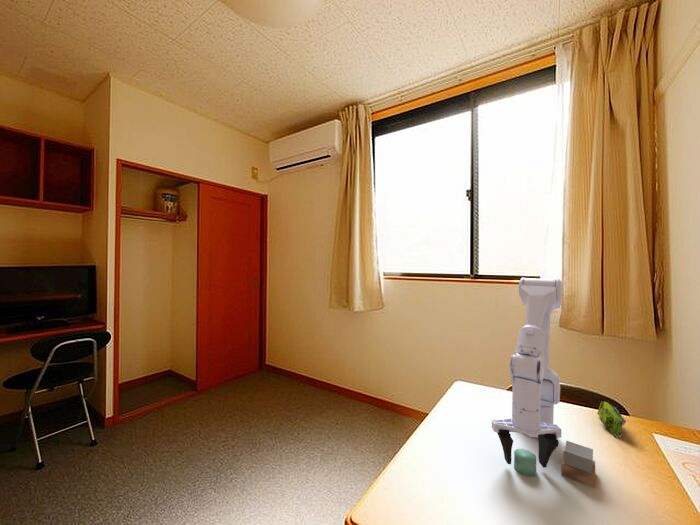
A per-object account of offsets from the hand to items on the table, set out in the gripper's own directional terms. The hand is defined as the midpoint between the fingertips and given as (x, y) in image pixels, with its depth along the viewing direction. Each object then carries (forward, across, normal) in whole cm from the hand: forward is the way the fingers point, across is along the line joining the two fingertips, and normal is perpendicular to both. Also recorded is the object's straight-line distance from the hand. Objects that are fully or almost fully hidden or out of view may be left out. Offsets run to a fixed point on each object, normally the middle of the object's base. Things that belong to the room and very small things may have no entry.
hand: (525, 463), depth 71 cm
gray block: (-1, +12, 0) cm, 12 cm away
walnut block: (+2, +12, 0) cm, 12 cm away
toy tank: (+2, +31, +20) cm, 37 cm away
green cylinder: (+2, 0, 0) cm, 2 cm away
